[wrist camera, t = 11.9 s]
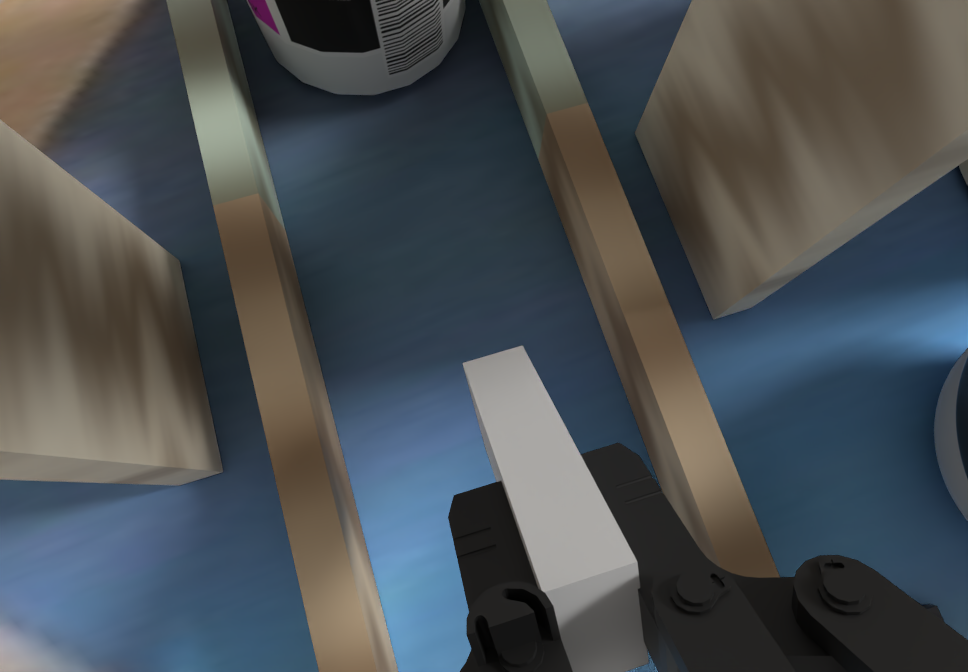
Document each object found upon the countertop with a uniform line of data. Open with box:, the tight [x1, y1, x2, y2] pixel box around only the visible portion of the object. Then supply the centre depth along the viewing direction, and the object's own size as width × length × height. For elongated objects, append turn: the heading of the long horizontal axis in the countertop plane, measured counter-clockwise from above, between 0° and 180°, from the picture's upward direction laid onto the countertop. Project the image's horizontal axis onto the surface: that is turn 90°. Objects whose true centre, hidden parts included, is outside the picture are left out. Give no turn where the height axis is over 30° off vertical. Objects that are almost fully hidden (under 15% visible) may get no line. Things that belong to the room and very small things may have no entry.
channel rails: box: [166, 0, 780, 672], centre depth 22 cm, size 30×13×3 cm, turn 18°
